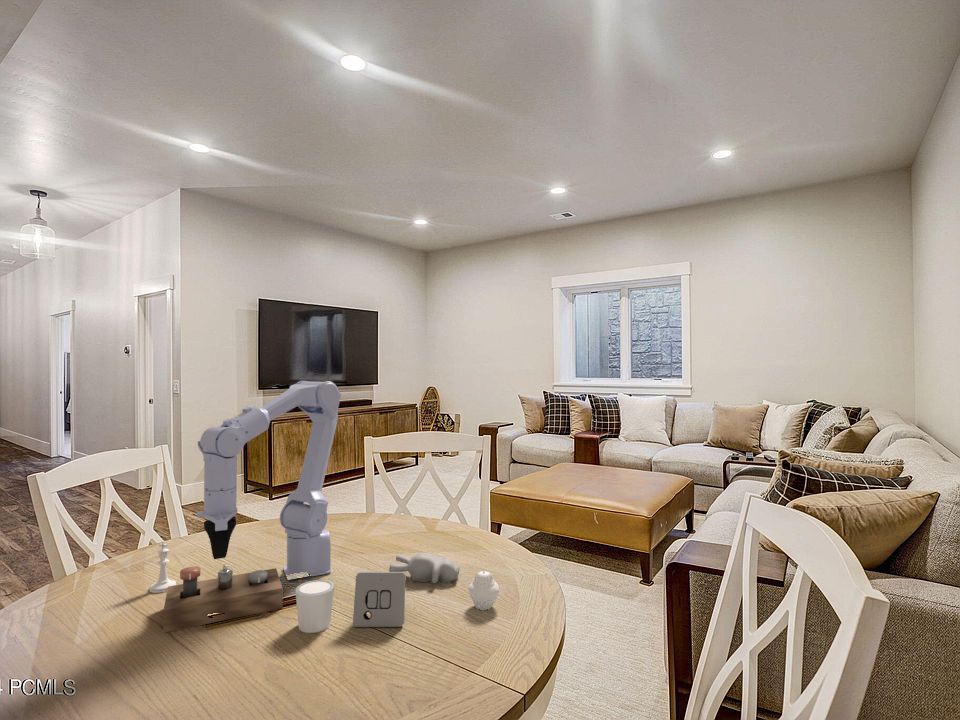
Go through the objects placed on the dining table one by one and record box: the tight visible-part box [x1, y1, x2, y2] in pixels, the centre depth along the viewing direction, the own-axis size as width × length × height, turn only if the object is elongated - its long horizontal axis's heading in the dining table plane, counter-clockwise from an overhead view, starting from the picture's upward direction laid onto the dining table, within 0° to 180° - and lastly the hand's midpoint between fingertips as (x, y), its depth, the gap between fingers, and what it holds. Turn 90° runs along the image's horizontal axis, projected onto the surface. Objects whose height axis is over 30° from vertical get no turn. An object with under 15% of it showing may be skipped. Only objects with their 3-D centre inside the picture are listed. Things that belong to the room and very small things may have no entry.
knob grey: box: [249, 569, 267, 586], centre depth 104 cm, size 3×4×5 cm
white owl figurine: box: [467, 570, 500, 611], centre depth 103 cm, size 6×6×7 cm
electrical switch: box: [352, 571, 407, 628], centre depth 97 cm, size 9×5×9 cm, turn 90°
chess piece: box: [149, 540, 177, 594], centre depth 111 cm, size 5×5×10 cm
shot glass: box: [294, 579, 335, 634], centre depth 95 cm, size 7×7×7 cm
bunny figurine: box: [388, 552, 461, 584], centre depth 116 cm, size 10×5×15 cm
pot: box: [217, 564, 233, 590], centre depth 102 cm, size 3×3×4 cm
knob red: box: [179, 566, 201, 598], centre depth 99 cm, size 3×4×5 cm
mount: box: [162, 568, 284, 634], centre depth 102 cm, size 20×11×4 cm, turn 118°
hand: (219, 557), depth 101 cm, fingers closed
